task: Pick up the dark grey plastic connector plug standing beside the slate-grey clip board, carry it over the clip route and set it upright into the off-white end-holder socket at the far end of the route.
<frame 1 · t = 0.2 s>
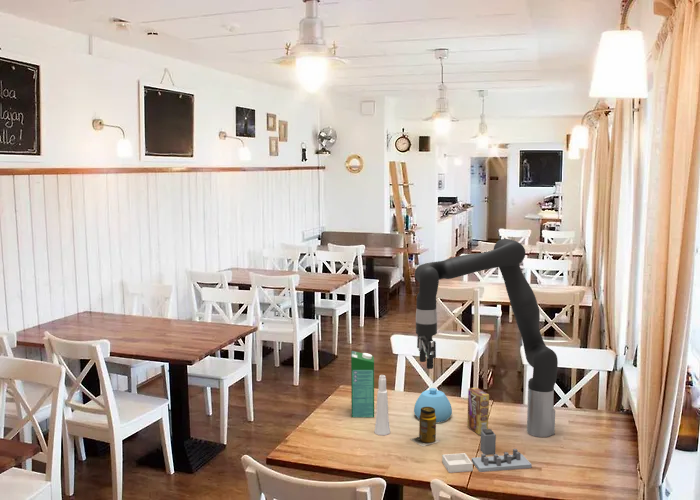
hand: (426, 365, 240), 29 cm above the table, fingers open, 8 cm apart
milk carton: (362, 413, 271), on the table
candy box: (477, 430, 253), on the table
connector: (487, 452, 234), on the table
end holder: (457, 466, 223), on the table
cosmetic bottle: (382, 432, 252), on the table
sugar bowl: (432, 417, 267), on the table
condiment: (425, 441, 244), on the table
route board: (501, 464, 225), on the table
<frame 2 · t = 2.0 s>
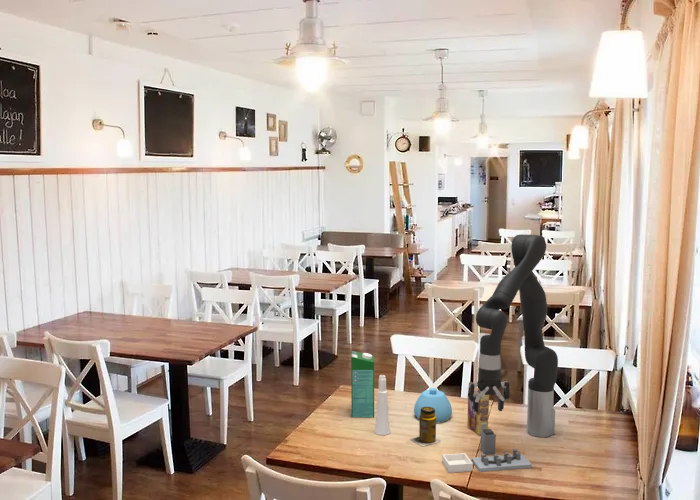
hand: (488, 411, 232), 15 cm above the table, fingers open, 8 cm apart
nothing on the table moved.
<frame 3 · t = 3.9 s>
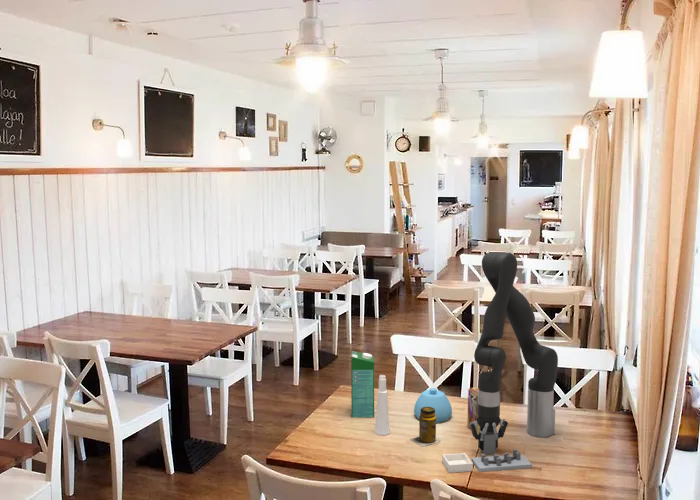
hand: (487, 449, 234), 1 cm above the table, fingers closed on connector, 4 cm apart
connector: (487, 452, 234), on the table, touching gripper
everything else where it was.
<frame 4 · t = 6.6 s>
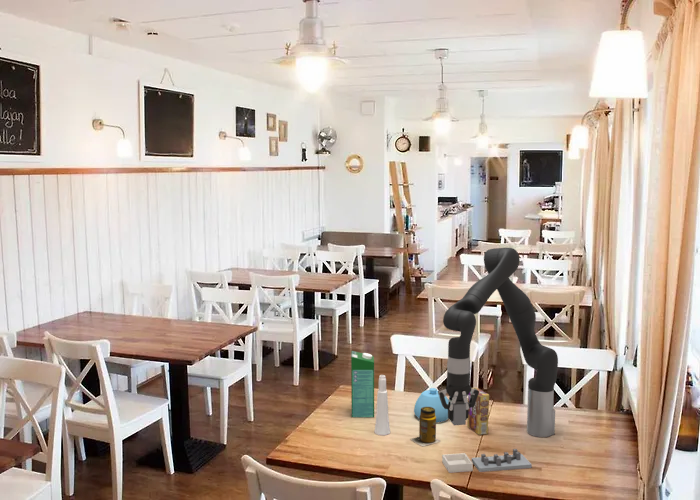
hand: (457, 419, 221), 16 cm above the table, fingers closed on connector, 4 cm apart
connector: (457, 422, 222), point 15 cm above the table, touching gripper
everything else where it was.
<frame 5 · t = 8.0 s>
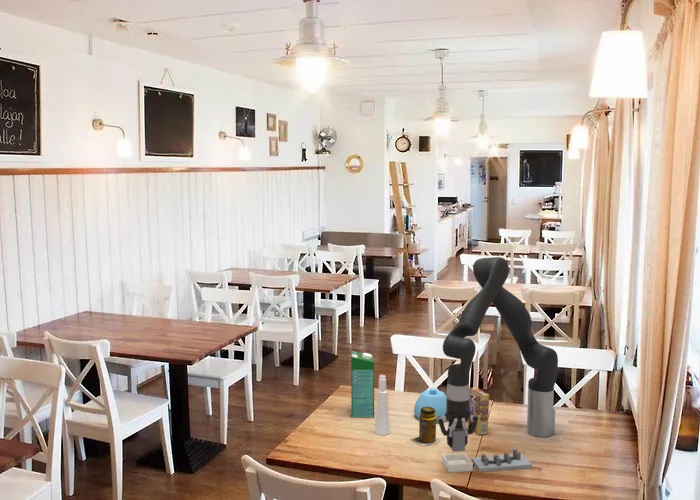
hand: (457, 445, 223), 7 cm above the table, fingers closed on connector, 4 cm apart
connector: (457, 448, 223), point 6 cm above the table, touching gripper
everything else where it was.
when the fingers open (3 cm above the table, at t = 9.2 s): connector drops 2 cm, resting on end holder.
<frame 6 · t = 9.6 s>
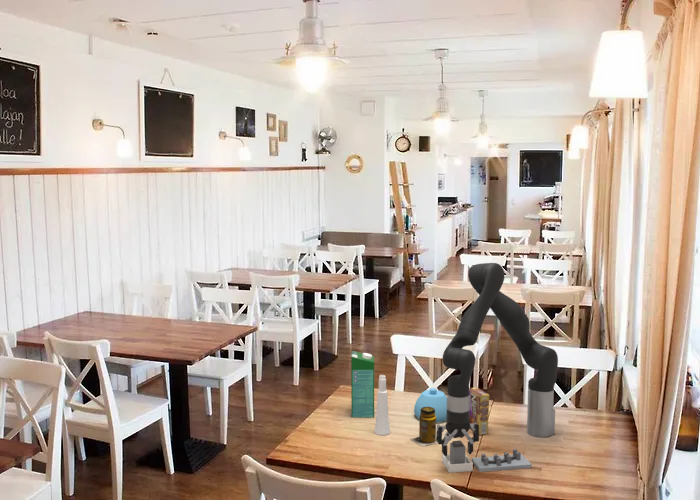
hand: (457, 454, 223), 4 cm above the table, fingers open, 8 cm apart
connector: (457, 464, 223), point 1 cm above the table, touching end holder
everything else where it was.
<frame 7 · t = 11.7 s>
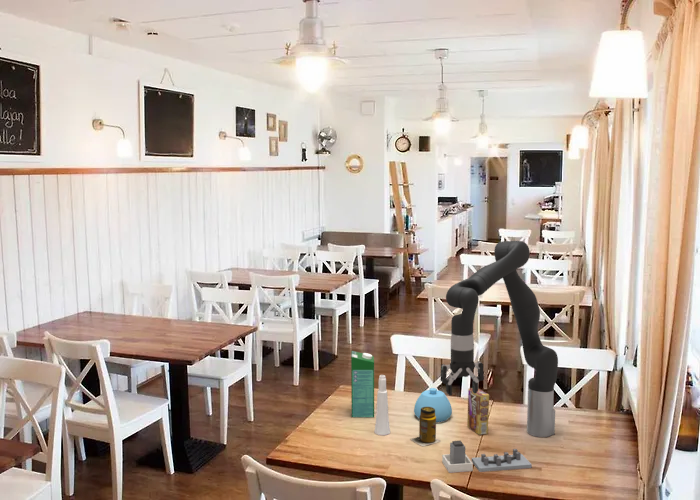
hand: (462, 393, 223), 24 cm above the table, fingers open, 8 cm apart
nothing on the table moved.
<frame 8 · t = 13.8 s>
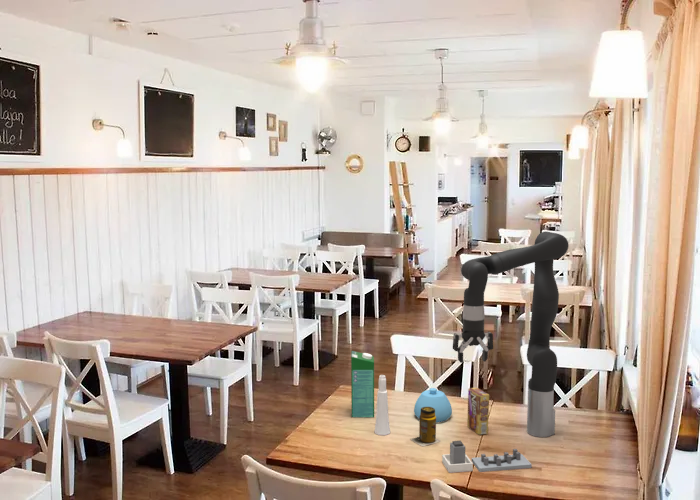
hand: (472, 361, 239), 30 cm above the table, fingers open, 8 cm apart
nothing on the table moved.
at the end: connector 0.1 cm from the end holder (horizontally); connector point 0.6 cm above the table; connector tilted 0° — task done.
